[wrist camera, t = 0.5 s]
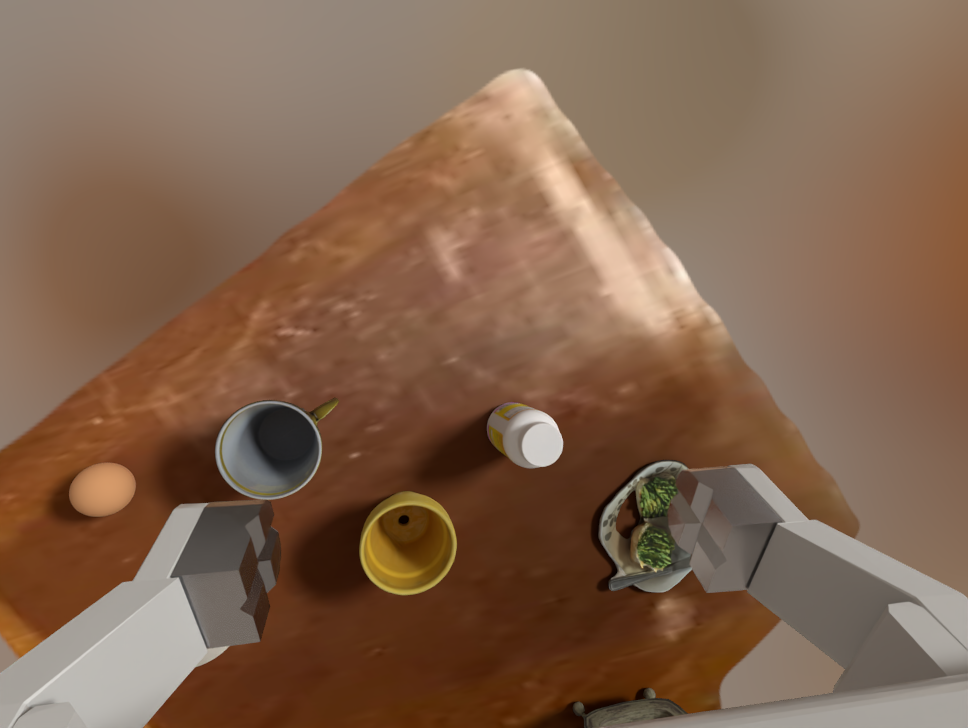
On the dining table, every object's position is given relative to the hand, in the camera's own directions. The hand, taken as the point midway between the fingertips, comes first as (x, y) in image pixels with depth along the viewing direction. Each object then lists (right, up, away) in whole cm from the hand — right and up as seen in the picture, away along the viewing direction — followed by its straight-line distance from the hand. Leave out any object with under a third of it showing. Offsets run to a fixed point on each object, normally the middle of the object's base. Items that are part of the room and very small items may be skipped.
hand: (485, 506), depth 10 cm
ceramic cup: (-22, -5, +49) cm, 54 cm away
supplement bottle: (+3, -5, +55) cm, 55 cm away
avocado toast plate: (+25, -20, +60) cm, 68 cm away
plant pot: (-10, -17, +52) cm, 55 cm away
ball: (-41, -11, +42) cm, 59 cm away
